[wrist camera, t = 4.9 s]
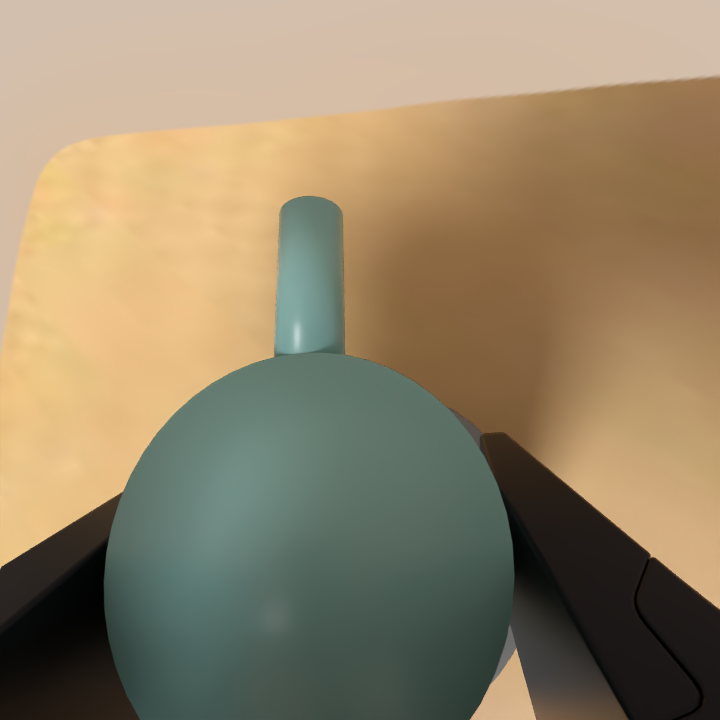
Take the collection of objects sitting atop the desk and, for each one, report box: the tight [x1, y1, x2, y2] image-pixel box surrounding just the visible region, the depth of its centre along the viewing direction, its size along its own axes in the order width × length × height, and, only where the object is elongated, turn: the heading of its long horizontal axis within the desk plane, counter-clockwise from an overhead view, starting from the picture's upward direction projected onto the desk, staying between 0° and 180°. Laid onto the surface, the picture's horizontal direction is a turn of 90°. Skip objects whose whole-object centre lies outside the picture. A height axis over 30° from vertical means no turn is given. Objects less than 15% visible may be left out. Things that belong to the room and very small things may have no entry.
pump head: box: [104, 196, 514, 720], centre depth 8 cm, size 7×5×5 cm, turn 2°
